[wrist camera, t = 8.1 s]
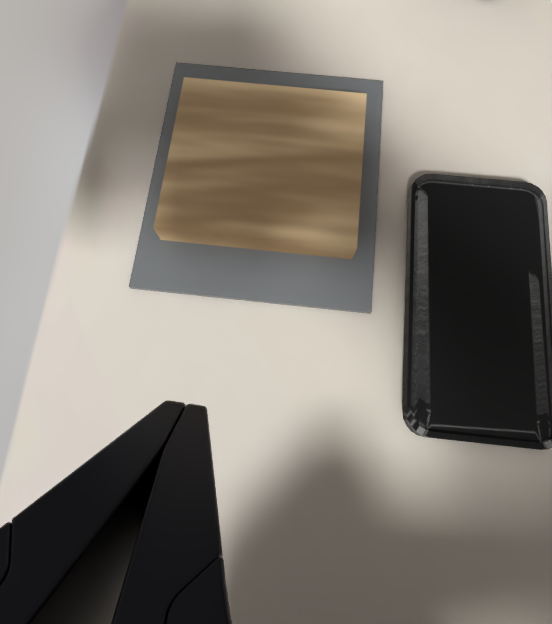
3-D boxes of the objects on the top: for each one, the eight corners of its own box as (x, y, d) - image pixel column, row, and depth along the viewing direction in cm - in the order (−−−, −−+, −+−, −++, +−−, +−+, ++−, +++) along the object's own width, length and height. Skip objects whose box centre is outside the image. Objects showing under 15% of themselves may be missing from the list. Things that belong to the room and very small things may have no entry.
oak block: (356, 248, 22) (366, 93, 25) (153, 228, 22) (183, 77, 25) (351, 259, 24) (361, 111, 26) (160, 239, 24) (188, 96, 26)
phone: (406, 434, 21) (412, 171, 25) (399, 434, 22) (406, 182, 26) (566, 452, 20) (547, 183, 24) (552, 451, 22) (536, 194, 25)
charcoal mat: (370, 313, 23) (371, 312, 23) (130, 288, 23) (128, 286, 23) (382, 84, 27) (383, 80, 27) (177, 66, 27) (176, 62, 27)
